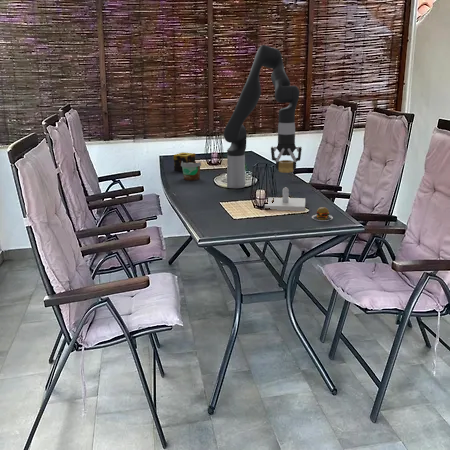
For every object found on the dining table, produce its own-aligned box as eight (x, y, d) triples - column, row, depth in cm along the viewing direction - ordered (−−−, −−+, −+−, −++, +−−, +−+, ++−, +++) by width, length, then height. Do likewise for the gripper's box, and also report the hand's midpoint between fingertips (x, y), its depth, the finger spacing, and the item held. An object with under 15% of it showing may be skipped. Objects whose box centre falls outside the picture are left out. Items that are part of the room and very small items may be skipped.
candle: (196, 169, 316) (196, 153, 313) (187, 172, 308) (186, 156, 305) (183, 167, 321) (182, 152, 318) (173, 170, 313) (173, 154, 310)
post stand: (264, 210, 229) (264, 190, 226) (267, 201, 242) (267, 183, 239) (304, 210, 226) (305, 191, 223) (305, 202, 239) (305, 184, 236)
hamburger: (317, 213, 223) (318, 201, 222) (341, 219, 216) (342, 206, 214) (302, 220, 215) (302, 208, 213) (326, 226, 207) (327, 213, 205)
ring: (278, 172, 226) (278, 162, 225) (279, 169, 232) (279, 160, 231) (292, 172, 225) (292, 163, 224) (293, 169, 231) (293, 160, 230)
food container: (177, 180, 288) (176, 163, 285) (182, 177, 294) (181, 160, 291) (197, 181, 284) (196, 164, 281) (201, 179, 289) (201, 162, 286)
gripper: (269, 133, 221) (269, 171, 226) (302, 133, 218) (301, 171, 224) (270, 131, 228) (270, 167, 233) (303, 131, 225) (302, 168, 231)
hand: (286, 169), depth 228 cm, fingers closed on ring, 6 cm apart
